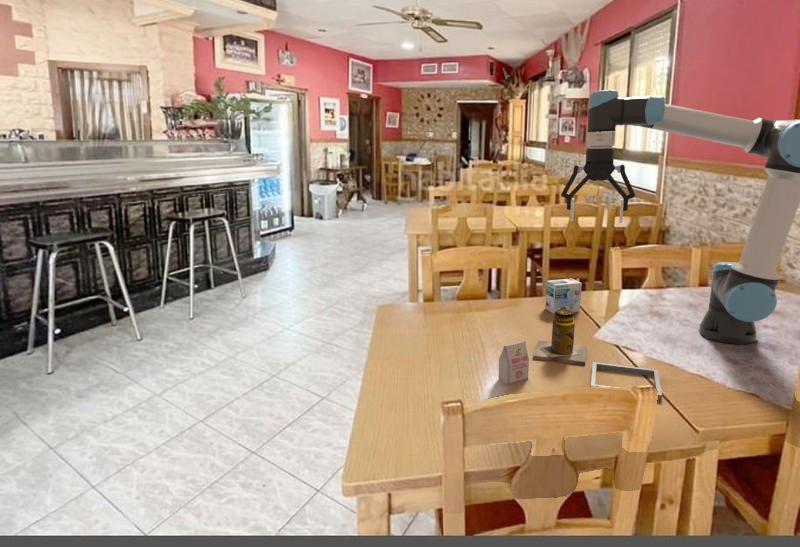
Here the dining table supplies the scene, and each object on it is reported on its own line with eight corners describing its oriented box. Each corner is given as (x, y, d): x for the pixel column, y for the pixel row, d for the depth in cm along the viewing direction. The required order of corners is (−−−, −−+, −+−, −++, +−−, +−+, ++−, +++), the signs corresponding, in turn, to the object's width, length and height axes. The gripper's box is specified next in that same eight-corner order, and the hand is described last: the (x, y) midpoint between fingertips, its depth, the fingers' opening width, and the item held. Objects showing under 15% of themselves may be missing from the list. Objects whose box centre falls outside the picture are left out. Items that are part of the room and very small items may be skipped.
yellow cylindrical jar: (579, 354, 153) (581, 314, 150) (551, 357, 151) (554, 317, 148) (565, 345, 159) (568, 306, 156) (539, 348, 158) (541, 309, 155)
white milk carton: (498, 379, 141) (499, 343, 138) (518, 374, 144) (520, 338, 141) (507, 385, 137) (508, 348, 135) (528, 379, 140) (529, 343, 138)
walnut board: (586, 349, 159) (587, 346, 158) (584, 365, 148) (585, 361, 148) (538, 343, 164) (538, 340, 163) (532, 358, 153) (533, 355, 153)
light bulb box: (553, 314, 189) (555, 285, 187) (544, 308, 196) (545, 280, 193) (580, 311, 192) (582, 282, 189) (570, 306, 198) (572, 277, 196)
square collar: (657, 375, 141) (657, 369, 141) (661, 401, 128) (662, 395, 127) (592, 366, 147) (592, 361, 146) (590, 391, 133) (590, 385, 133)
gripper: (553, 148, 155) (550, 222, 160) (649, 147, 146) (642, 224, 151) (556, 148, 161) (553, 218, 167) (647, 146, 152) (641, 220, 158)
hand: (595, 221), depth 159 cm, fingers open, 13 cm apart
